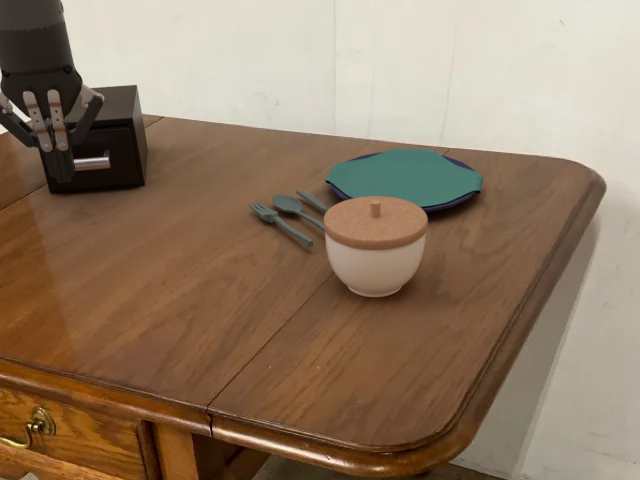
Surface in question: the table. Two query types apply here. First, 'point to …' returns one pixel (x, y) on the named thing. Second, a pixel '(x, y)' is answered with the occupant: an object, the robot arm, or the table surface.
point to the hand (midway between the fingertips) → (64, 179)
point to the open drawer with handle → (101, 159)
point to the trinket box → (375, 243)
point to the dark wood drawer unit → (115, 111)
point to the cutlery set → (386, 184)
